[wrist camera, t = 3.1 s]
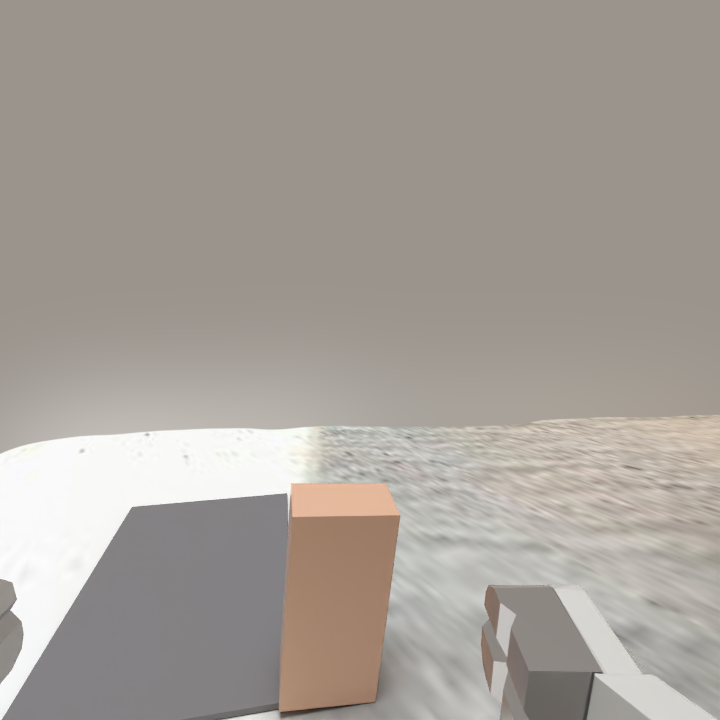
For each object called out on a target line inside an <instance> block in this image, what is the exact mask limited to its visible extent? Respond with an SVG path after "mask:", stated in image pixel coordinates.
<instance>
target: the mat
mask: <svg viewBox="0 0 720 720" xmlns="http://www.w3.org/2000/svg"><path fill="white" fill-rule="evenodd" d="M287 539H288V519H287V494H275V495H264V496H253V497H241V498H230V499H218V500H207V501H196V502H184V503H173V504H161V505H150V506H139V507H132V508H131V510H130V511H129V513H128V515H127V516H126V518H125V519H124V521H123V523H122V524H121V526H120V528H119V529H118V531H117V533H116V534H115V536H114V537H113V539H112V541H111V542H110V544H109V546H108V547H107V549H106V551H105V552H104V554H103V555H102V557H101V559H100V560H99V562H98V564H97V565H96V567H95V568H94V570H93V572H92V573H91V575H90V577H89V578H88V580H87V582H86V583H85V585H84V586H83V588H82V590H81V591H80V593H79V595H78V596H77V598H76V600H75V601H74V603H73V604H72V606H71V608H70V609H69V611H68V613H67V614H66V616H65V618H64V619H63V621H62V622H61V624H60V626H59V627H58V629H57V631H56V632H55V634H54V636H53V637H52V639H51V640H50V642H49V644H48V645H47V647H46V649H45V650H44V652H43V654H42V655H41V657H40V658H39V660H38V662H37V663H36V665H35V667H34V668H33V670H32V671H31V673H30V675H29V676H28V678H27V680H26V681H25V683H24V685H23V686H22V688H21V689H20V691H19V693H18V694H17V696H16V698H15V699H14V701H13V703H12V704H11V706H10V707H9V709H8V711H7V712H6V714H5V716H4V717H3V719H2V720H218V719H224V718H230V717H235V716H241V715H247V714H253V713H258V712H264V711H270V710H276V709H279V656H280V641H281V627H282V612H283V597H284V583H285V568H286V554H287Z"/></svg>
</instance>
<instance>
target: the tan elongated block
mask: <svg viewBox="0 0 720 720" xmlns="http://www.w3.org/2000/svg"><path fill="white" fill-rule="evenodd" d="M399 521H400V514H399V511H398V509H397V507H396V505H395V503H394V500H393V498H392V496H391V494H390V492H389V489H388V487H387V485H386V483H381V484H291V495H290V510H289V524H288V539H287V554H286V568H285V583H284V597H283V612H282V627H281V641H280V656H279V712H283V711H293V710H303V709H312V708H322V707H331V706H341V705H351V704H360V703H370V702H376V694H377V687H378V679H379V672H380V664H381V657H382V649H383V641H384V634H385V626H386V619H387V611H388V604H389V596H390V589H391V581H392V574H393V566H394V559H395V551H396V543H397V536H398V528H399Z"/></svg>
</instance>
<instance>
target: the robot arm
mask: <svg viewBox="0 0 720 720" xmlns="http://www.w3.org/2000/svg"><path fill="white" fill-rule="evenodd" d="M16 600H17V598H16V594H15V591H14V587H13V583H12V582H9V581H6V580H2V579H0V683H1V682H2V681H3V680H4V679H5V677H6V676H7V675H8V674H9V672H10V671H11V670H12V668H13V666H14V664H15V662H16V660H17V657H18V655H19V653H20V651H21V649H22V641H23V628H22V623H21V621H20V620H19V619H18V618H17V617H16V616H15V615H14V614H13V613H12V612H11V611H10V609H11V608H12V606H13V605H14V603H15V601H16ZM484 605H485V608H486V610H487V613H488V616H489V620H488V621H487V622H486V623H485V624H484V625H483V626H482V639H481V647H482V660H483V666H484V671H485V676H486V680H487V683H488V687H489V690H490V693H491V694H492V695H493V697H494V698H495V699H496V700H497V701H498V702H499V703H500V704H501V705H502V706H501V716H500V720H717V719H716V718H714V717H713V716H711V715H710V714H709V713H707V712H706V711H704V710H703V709H702V708H700V707H699V706H697V705H696V704H694V703H693V702H692V701H690V700H689V699H687V698H686V697H684V696H683V695H682V694H680V693H679V692H677V691H676V690H674V689H673V688H672V687H670V686H669V685H667V684H666V683H664V682H663V681H662V680H660V679H659V678H657V677H656V676H655V675H648V674H642V672H641V671H640V669H639V668H638V666H637V665H636V664H635V662H634V661H633V659H632V658H631V656H630V655H629V654H628V652H627V651H626V649H625V648H624V646H623V645H622V644H621V642H620V641H619V639H618V638H617V636H616V635H615V634H614V632H613V631H612V629H611V628H610V626H609V625H608V624H607V622H606V621H605V619H604V618H603V616H602V615H601V613H600V612H599V611H598V609H597V608H596V606H595V605H594V603H593V602H592V601H591V599H590V598H589V596H588V595H587V593H586V592H585V591H584V589H583V588H581V587H580V586H578V585H577V584H573V585H547V586H545V585H489V586H488V588H487V591H486V596H485V604H484Z"/></svg>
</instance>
